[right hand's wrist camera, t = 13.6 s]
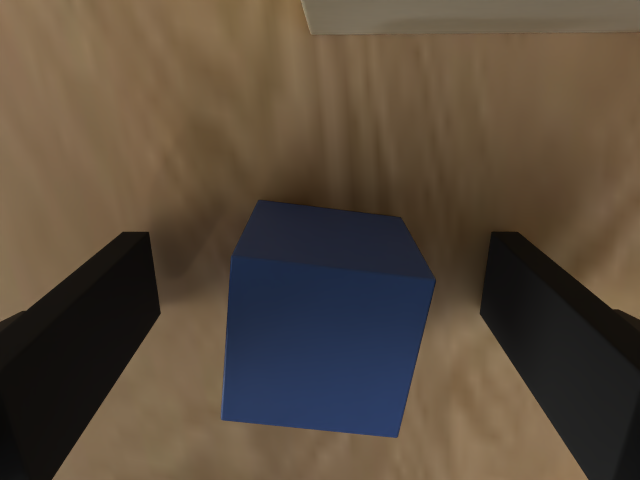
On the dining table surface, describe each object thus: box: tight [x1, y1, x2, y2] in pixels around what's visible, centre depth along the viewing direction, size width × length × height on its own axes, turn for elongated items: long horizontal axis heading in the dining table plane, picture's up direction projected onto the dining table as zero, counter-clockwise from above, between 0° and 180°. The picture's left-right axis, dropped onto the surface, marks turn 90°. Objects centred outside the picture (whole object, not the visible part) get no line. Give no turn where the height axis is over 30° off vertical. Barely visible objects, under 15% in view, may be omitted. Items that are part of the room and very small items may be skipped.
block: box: [221, 200, 436, 438], centre depth 12 cm, size 4×4×4 cm
